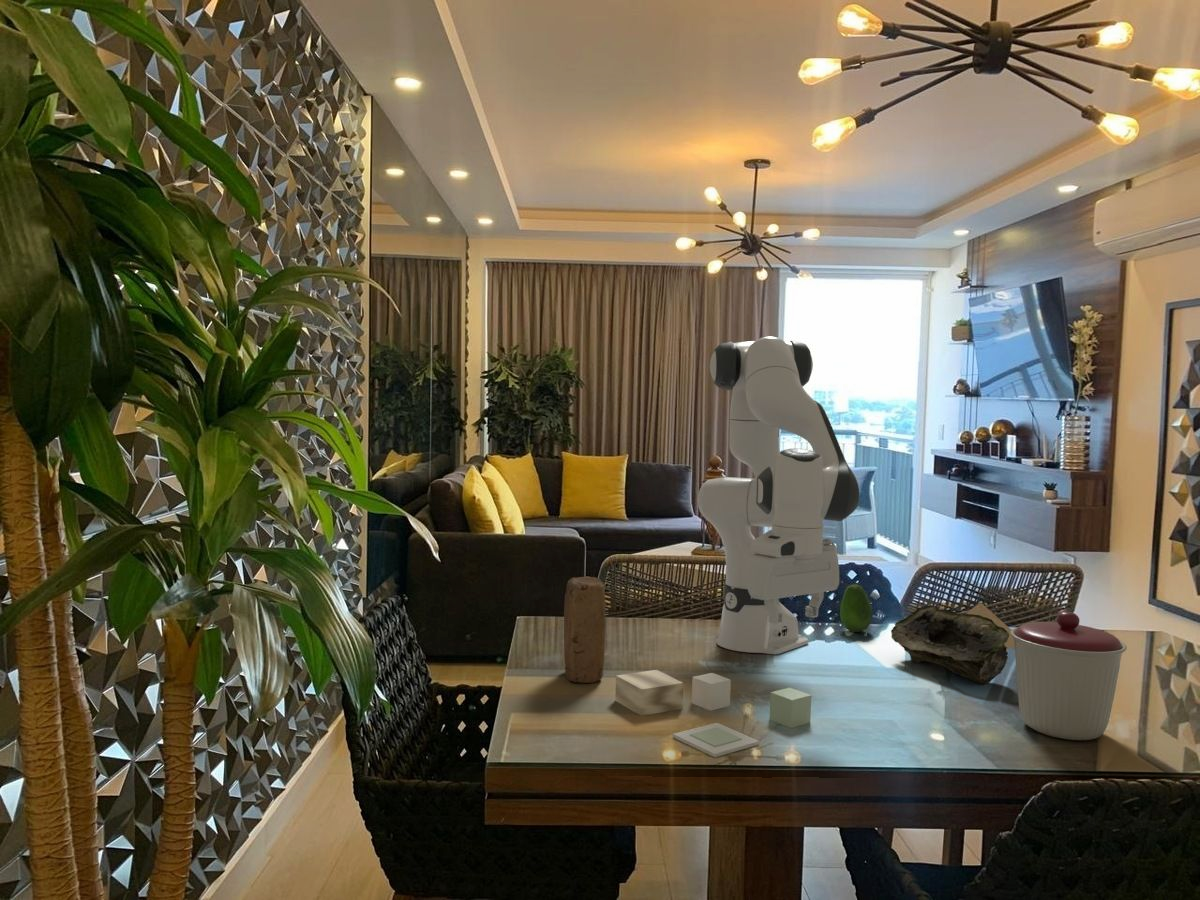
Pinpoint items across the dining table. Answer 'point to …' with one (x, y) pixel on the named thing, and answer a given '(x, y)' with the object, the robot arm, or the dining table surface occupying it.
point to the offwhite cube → (711, 691)
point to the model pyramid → (985, 612)
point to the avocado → (855, 609)
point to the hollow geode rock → (954, 642)
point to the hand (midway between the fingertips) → (793, 619)
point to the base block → (649, 692)
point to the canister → (1066, 676)
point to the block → (584, 629)
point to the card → (715, 739)
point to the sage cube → (790, 707)
